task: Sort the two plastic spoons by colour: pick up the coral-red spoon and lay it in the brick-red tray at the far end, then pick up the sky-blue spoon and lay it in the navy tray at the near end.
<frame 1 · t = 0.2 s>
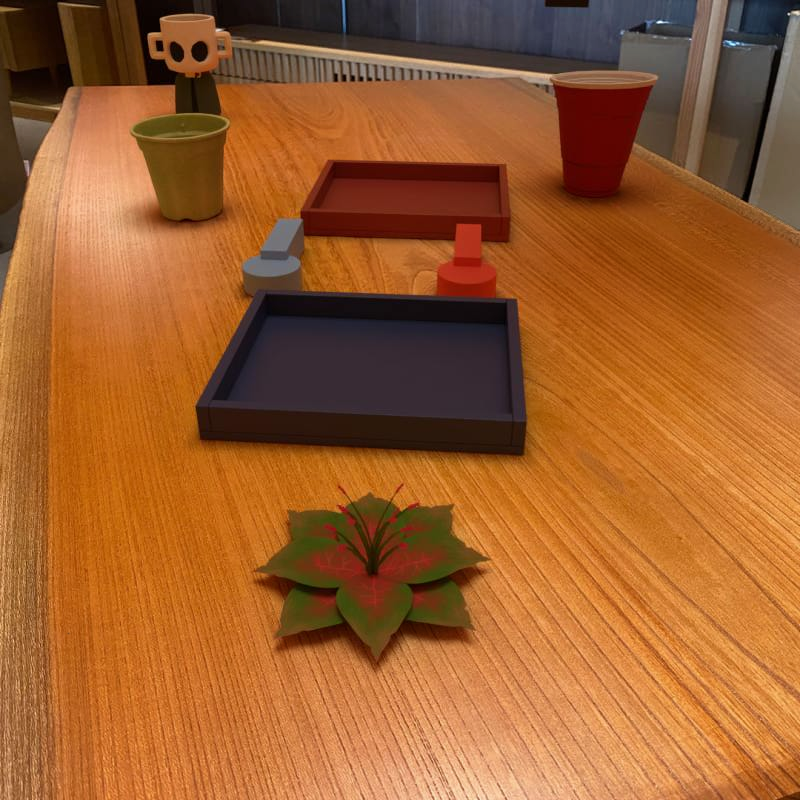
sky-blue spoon: (280, 271, 72), on the table
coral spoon: (466, 278, 71), on the table
plastic cup: (589, 190, 92), on the table
plant pot: (192, 214, 85), on the table
brick tray: (410, 208, 86), on the table
pink mug head figurine: (199, 120, 117), on the table
navy tray: (374, 376, 57), on the table
lily flower: (373, 577, 41), on the table
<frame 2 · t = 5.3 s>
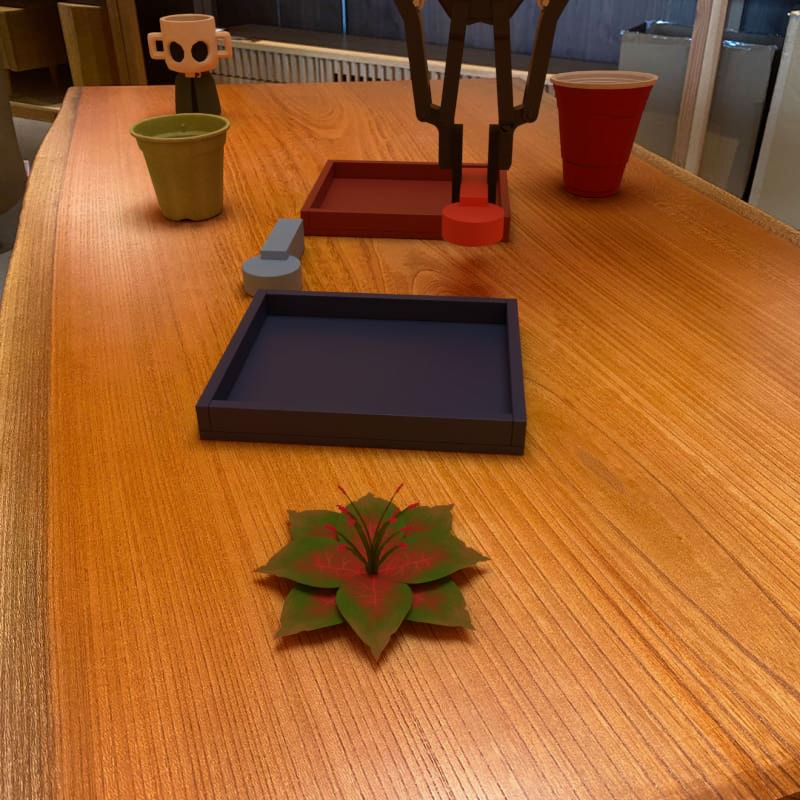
hand: (473, 206, 71), 5 cm above the table, tool pointing down, fingers closed on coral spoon, 2 cm apart
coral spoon: (472, 221, 69), point 5 cm above the table, touching gripper
everything else where it was.
when the fingers open (1 cm above the table, at t = 9.2 s): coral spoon stays where it is, resting on brick tray.
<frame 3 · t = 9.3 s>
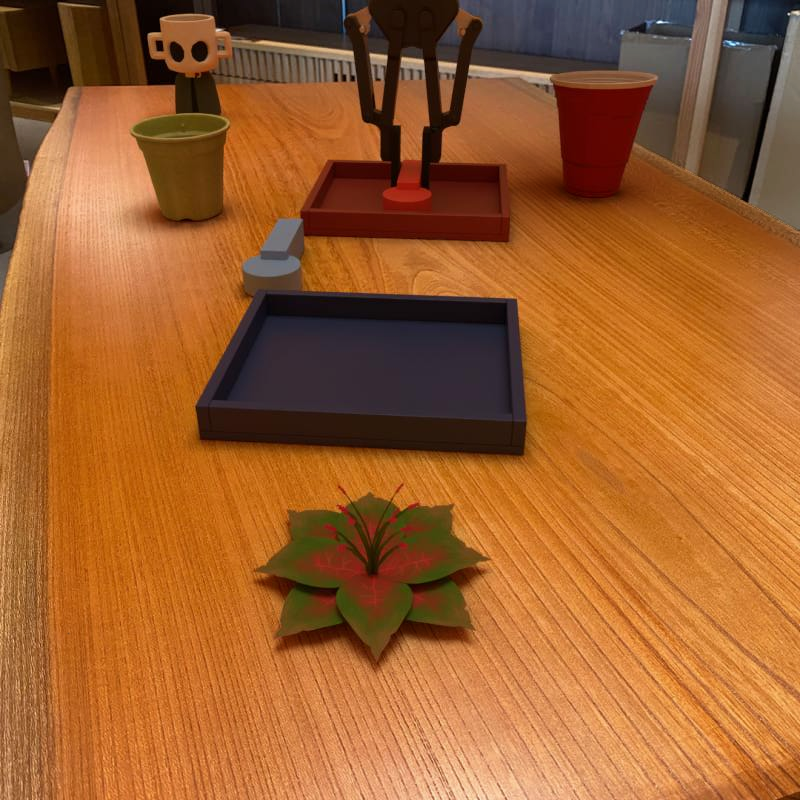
hand: (410, 191, 88), 1 cm above the table, tool pointing down, fingers open, 2 cm apart
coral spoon: (409, 202, 86), point 1 cm above the table, touching brick tray, gripper
everything else where it was.
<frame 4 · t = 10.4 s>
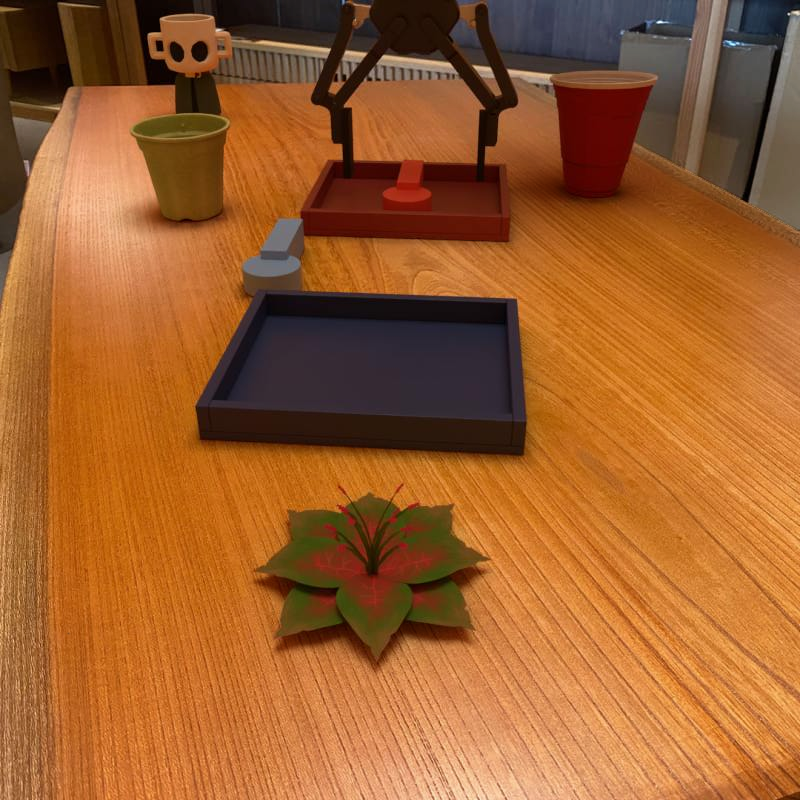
hand: (414, 176, 87), 3 cm above the table, tool pointing down, fingers open, 13 cm apart
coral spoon: (409, 202, 86), point 1 cm above the table, touching brick tray
everything else where it was.
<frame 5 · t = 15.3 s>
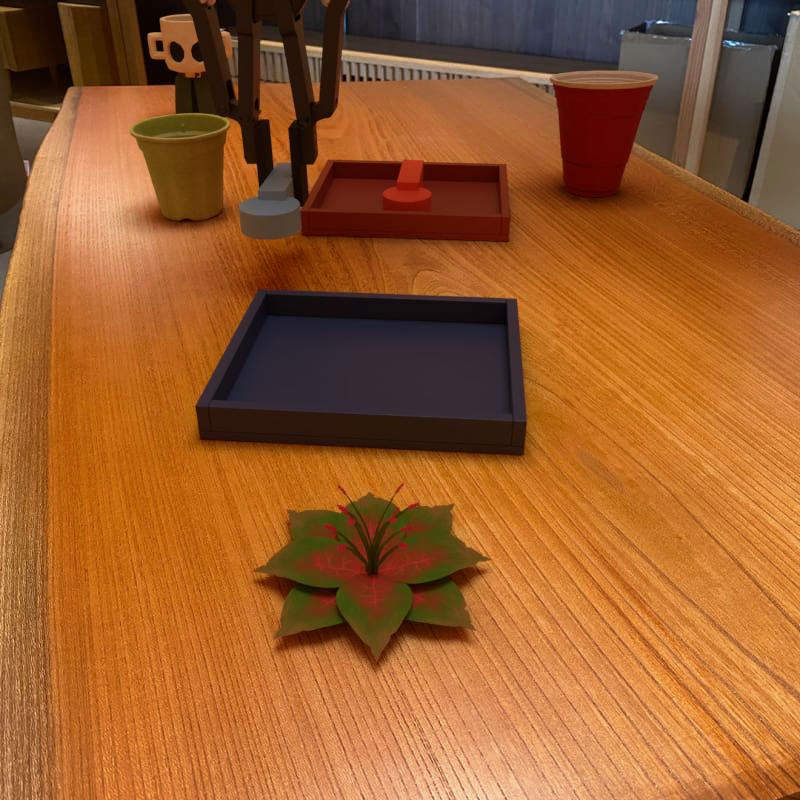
hand: (285, 200, 72), 5 cm above the table, tool pointing down, fingers closed on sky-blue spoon, 2 cm apart
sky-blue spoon: (279, 215, 70), point 5 cm above the table, touching gripper
everything else where it was.
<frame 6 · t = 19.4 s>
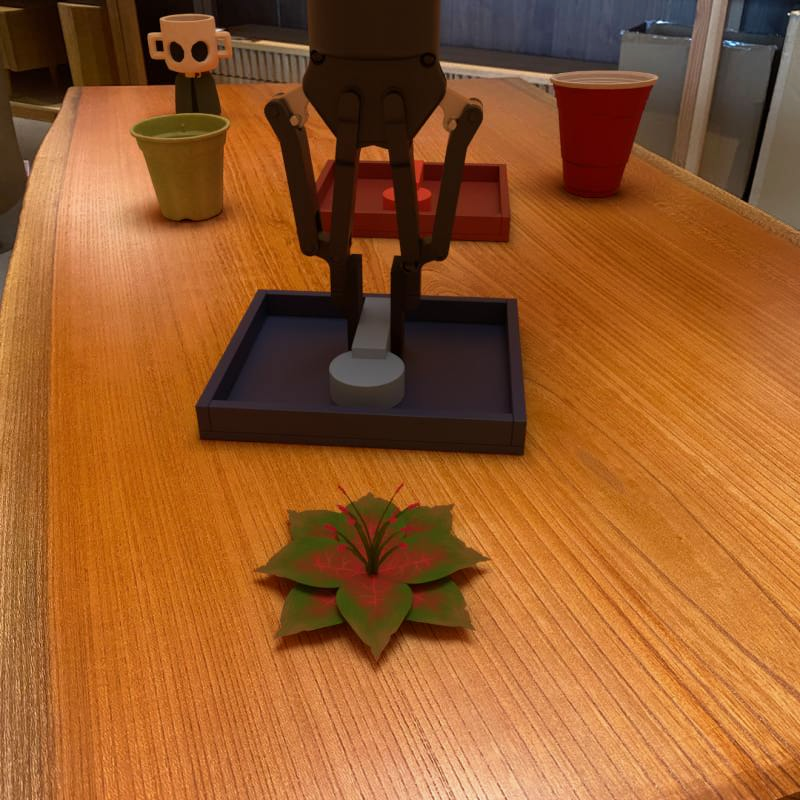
hand: (376, 348, 59), 1 cm above the table, tool pointing down, fingers closed on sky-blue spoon, 2 cm apart
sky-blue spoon: (372, 369, 57), point 1 cm above the table, touching gripper, navy tray
everything else where it was.
when the fingers open (1 cm above the table, at t = 19.4 s): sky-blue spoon stays where it is, resting on navy tray.
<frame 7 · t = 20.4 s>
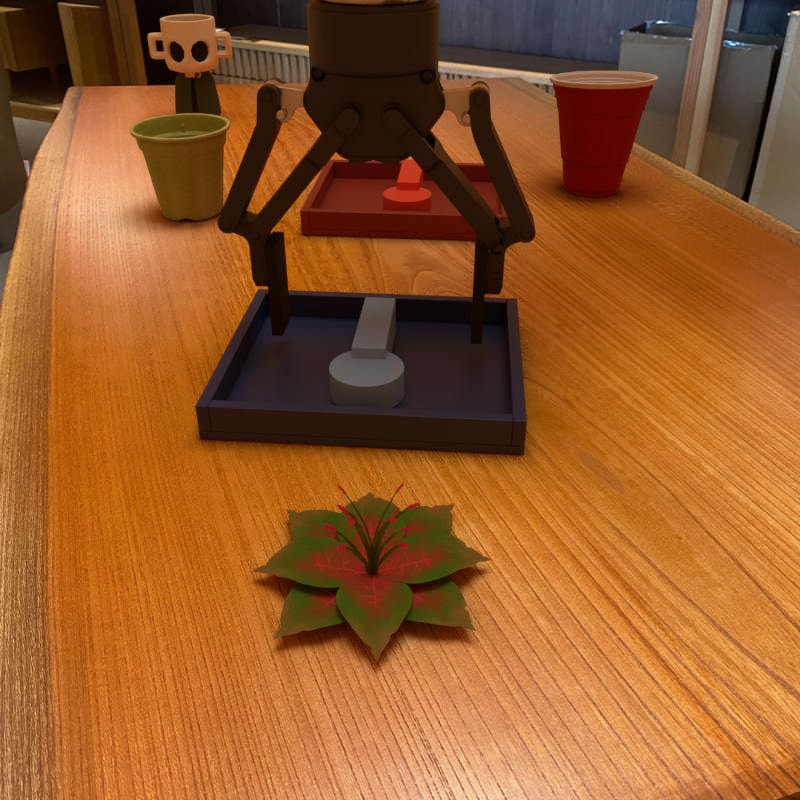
hand: (378, 331, 58), 2 cm above the table, tool pointing down, fingers open, 13 cm apart
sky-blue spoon: (372, 369, 57), point 1 cm above the table, touching navy tray
everything else where it was.
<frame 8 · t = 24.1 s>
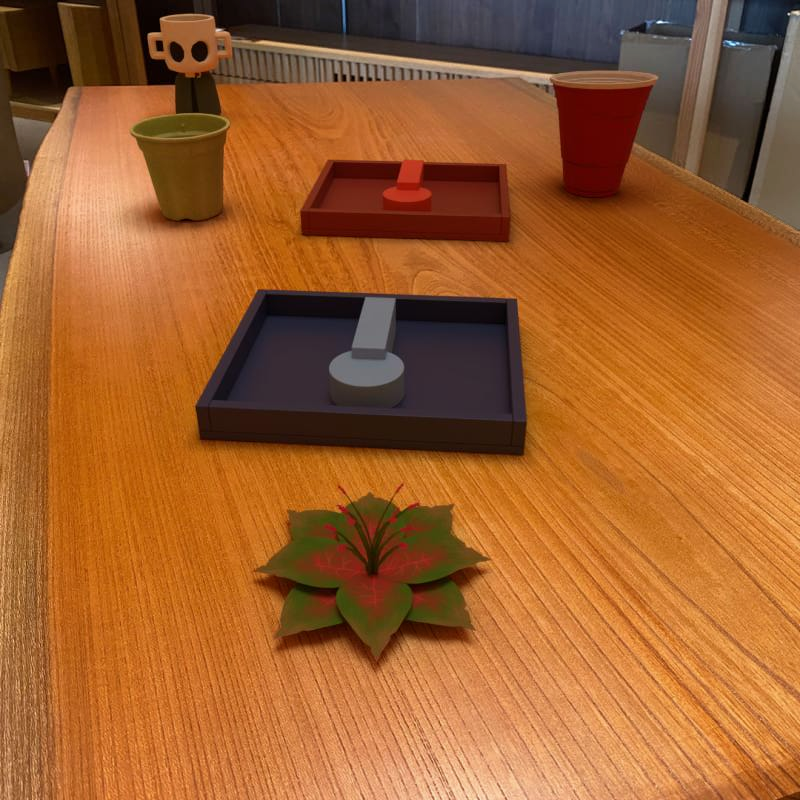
nothing on the table moved.
at the end: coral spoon inside the target area in the brick tray (0.1 cm from its centre), point 0.6 cm above the brick tray's base; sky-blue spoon inside the target area in the navy tray (0.1 cm from its centre), point 0.6 cm above the navy tray's base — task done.
